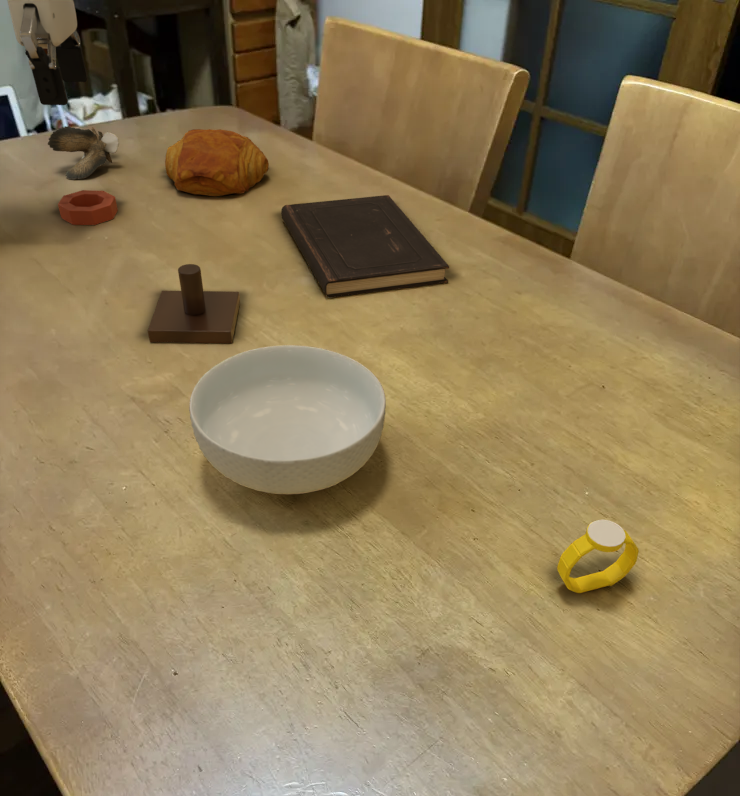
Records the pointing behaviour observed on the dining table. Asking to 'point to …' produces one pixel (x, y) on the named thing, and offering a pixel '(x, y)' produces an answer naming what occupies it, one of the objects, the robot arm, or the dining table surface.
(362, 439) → the cereal bowl
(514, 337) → the dining table surface
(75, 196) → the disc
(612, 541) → the watch
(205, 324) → the stand
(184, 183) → the croissant
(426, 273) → the hardcover book
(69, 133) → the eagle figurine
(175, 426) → the dining table surface
